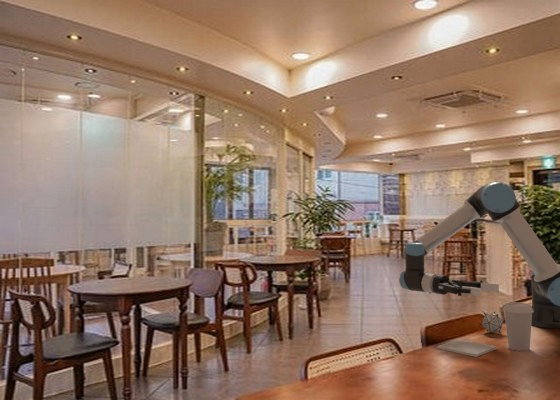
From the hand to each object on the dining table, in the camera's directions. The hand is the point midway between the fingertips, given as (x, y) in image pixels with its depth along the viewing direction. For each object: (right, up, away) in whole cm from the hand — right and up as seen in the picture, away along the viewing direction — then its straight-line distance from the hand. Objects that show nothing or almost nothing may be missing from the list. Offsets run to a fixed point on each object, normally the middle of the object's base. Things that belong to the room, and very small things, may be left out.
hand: (489, 290), depth 174 cm
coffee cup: (+7, -19, -8) cm, 21 cm away
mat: (-11, -19, -7) cm, 23 cm away
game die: (+7, -19, +13) cm, 24 cm away
